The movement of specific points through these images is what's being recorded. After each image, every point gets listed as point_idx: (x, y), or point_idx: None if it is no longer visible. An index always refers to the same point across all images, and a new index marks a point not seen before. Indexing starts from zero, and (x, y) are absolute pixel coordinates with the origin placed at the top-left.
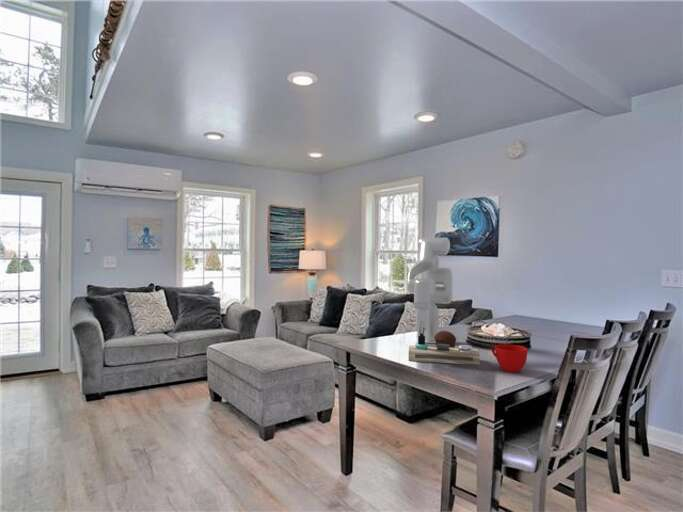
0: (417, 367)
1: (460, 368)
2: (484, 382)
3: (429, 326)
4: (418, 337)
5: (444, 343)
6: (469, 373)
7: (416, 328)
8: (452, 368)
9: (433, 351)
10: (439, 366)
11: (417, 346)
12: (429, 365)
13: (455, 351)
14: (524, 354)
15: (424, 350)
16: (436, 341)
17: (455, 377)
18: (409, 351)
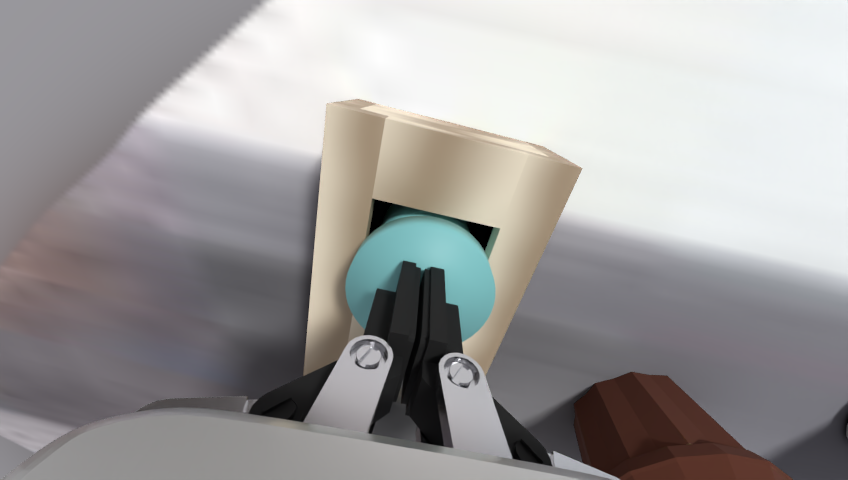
0: (159, 133)
1: (224, 372)
2: (14, 389)
3: None
4: (394, 317)
5: (605, 458)
6: (140, 381)
7: (16, 470)
8: (211, 340)
9: (308, 333)
10: (236, 288)
11: (375, 233)
12: (245, 235)
13: None
14: None
15: (335, 274)
16: (674, 435)
17: (26, 306)
18: (329, 113)
